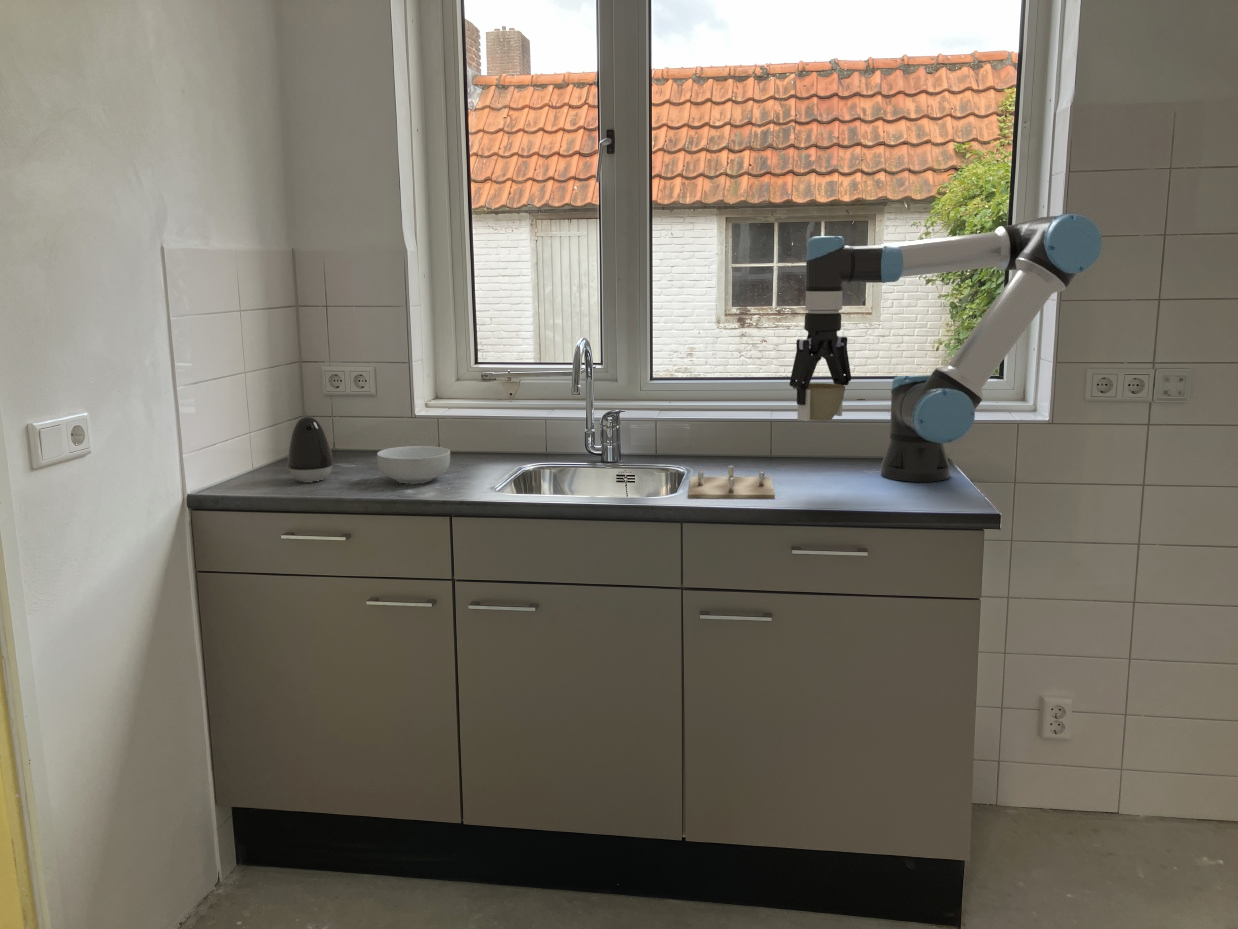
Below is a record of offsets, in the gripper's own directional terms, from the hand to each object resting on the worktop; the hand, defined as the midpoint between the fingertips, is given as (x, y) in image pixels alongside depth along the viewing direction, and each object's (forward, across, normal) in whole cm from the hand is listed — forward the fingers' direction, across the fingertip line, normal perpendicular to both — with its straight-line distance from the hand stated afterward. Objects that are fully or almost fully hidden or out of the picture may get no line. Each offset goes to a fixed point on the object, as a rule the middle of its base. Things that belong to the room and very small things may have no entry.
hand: (819, 417), depth 214 cm
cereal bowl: (+17, +59, -71) cm, 93 cm away
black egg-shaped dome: (+17, +76, -88) cm, 118 cm away
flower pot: (+1, 0, 0) cm, 1 cm away
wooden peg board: (+16, +12, -14) cm, 25 cm away
